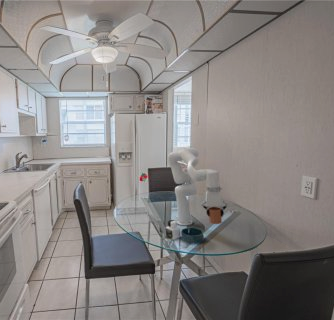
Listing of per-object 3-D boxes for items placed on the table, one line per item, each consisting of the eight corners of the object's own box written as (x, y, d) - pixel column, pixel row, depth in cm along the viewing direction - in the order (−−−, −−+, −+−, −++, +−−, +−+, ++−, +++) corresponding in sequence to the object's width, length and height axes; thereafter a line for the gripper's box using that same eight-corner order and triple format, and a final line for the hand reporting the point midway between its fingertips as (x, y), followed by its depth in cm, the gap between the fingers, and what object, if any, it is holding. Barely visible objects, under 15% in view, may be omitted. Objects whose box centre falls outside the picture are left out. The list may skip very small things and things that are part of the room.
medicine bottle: (166, 236, 153) (164, 220, 153) (173, 234, 156) (172, 218, 156) (172, 240, 147) (171, 223, 146) (180, 237, 150) (179, 221, 149)
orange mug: (222, 224, 135) (221, 210, 134) (210, 223, 137) (209, 210, 137) (220, 218, 145) (219, 205, 145) (208, 218, 148) (207, 205, 147)
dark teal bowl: (177, 239, 148) (176, 231, 148) (190, 233, 155) (190, 226, 155) (194, 246, 136) (193, 238, 136) (208, 239, 143) (207, 231, 143)
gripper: (227, 187, 139) (228, 214, 140) (198, 188, 145) (200, 213, 146) (229, 190, 132) (231, 218, 133) (199, 190, 138) (201, 217, 139)
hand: (215, 215), depth 139 cm, fingers closed on orange mug, 7 cm apart
